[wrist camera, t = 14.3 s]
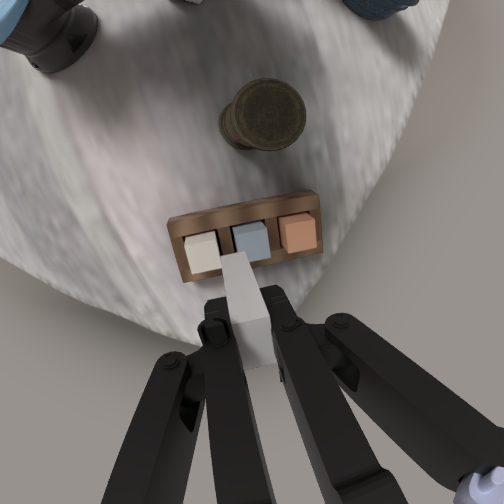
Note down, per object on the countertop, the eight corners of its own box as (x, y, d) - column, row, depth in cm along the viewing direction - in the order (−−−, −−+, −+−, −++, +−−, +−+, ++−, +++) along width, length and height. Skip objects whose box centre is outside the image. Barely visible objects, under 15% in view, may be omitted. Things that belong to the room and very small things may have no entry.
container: (210, 111, 41) (214, 92, 24) (259, 92, 41) (291, 65, 24) (231, 158, 45) (248, 166, 28) (279, 138, 44) (321, 137, 28)
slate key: (236, 250, 49) (240, 264, 44) (231, 223, 47) (235, 235, 42) (263, 244, 50) (270, 257, 44) (259, 218, 48) (266, 228, 42)
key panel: (184, 272, 51) (183, 283, 47) (169, 218, 47) (166, 224, 43) (315, 244, 53) (323, 252, 50) (310, 190, 49) (319, 194, 45)
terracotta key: (279, 240, 50) (288, 253, 45) (275, 215, 48) (285, 224, 43) (304, 235, 51) (316, 247, 45) (302, 210, 49) (314, 219, 43)
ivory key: (192, 259, 49) (191, 274, 43) (186, 233, 47) (184, 245, 41) (220, 253, 49) (222, 268, 44) (214, 227, 47) (215, 239, 42)
